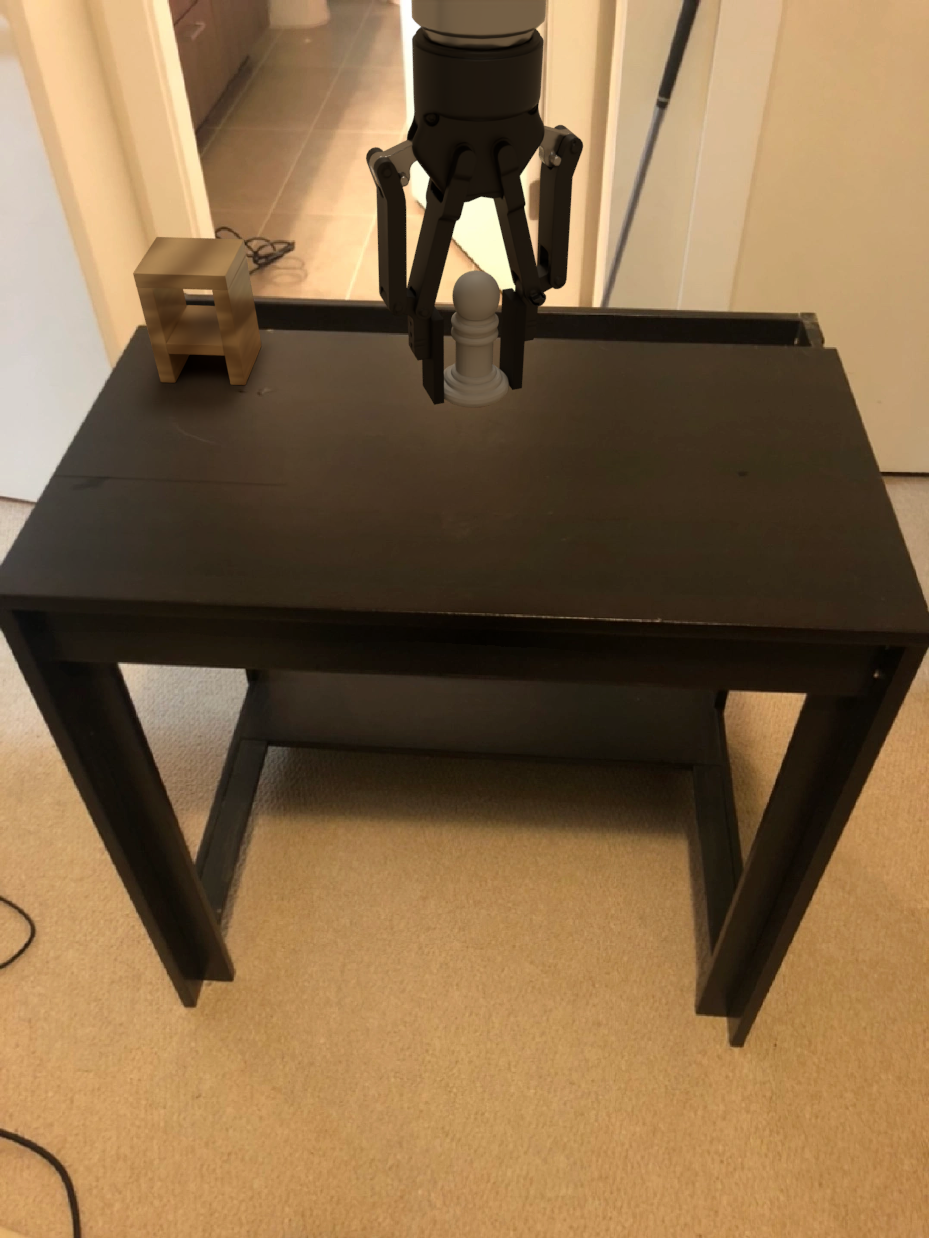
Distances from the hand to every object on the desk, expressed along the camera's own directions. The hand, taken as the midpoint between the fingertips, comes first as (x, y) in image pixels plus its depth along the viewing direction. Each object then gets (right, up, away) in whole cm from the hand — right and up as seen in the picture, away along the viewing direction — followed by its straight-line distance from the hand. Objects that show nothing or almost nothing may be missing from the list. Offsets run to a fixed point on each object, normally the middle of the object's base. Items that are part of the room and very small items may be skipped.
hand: (472, 386), depth 72 cm
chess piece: (0, 0, 0) cm, 0 cm away
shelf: (-28, +10, +33) cm, 44 cm away
